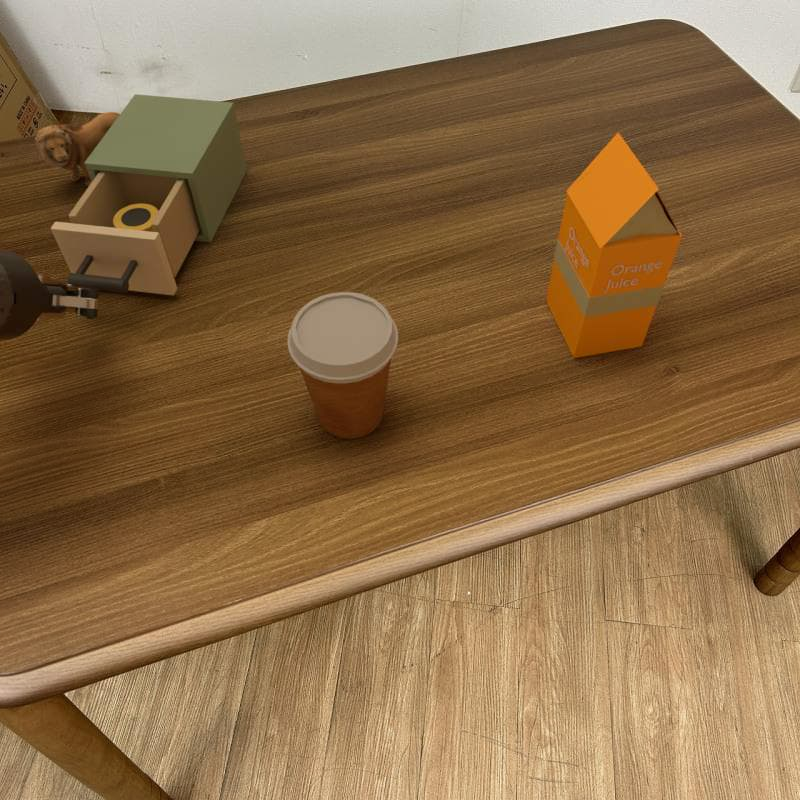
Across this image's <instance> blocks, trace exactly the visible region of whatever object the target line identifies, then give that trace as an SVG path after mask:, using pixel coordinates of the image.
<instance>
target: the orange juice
mask: <svg viewBox="0 0 800 800" xmlns="http://www.w3.org/2000/svg"><path fill="white" fill-rule="evenodd" d="M659 189H660V188H659V187H658V185H657V184H656V182H655V180H653V178H652V177H651V176H650V174H649V173H648V172H647V170H646V169H645V167H644V166H643V164H642V163H641V161H640V160H639V159H638V158H637V156H636V155H635V153H634V152H633V150H632V149H631V148H630V146H629V145H628V144H627V142H626V141H625V139H624V138H623V137H622V135H621V134H620V132H617V133H616V134H615V135H614V136H613V137H612V138H611V140H610V141H608V143H607V144H606V146H604V147H603V149H602V150H600V152H599V153H598V154H597V156H595V157H594V159H593V160H592V161H591V162H590V163H589V165H588V166H587V167H586V168H585V169H584V170H583V171H582V173H580V175H579V176H578V177H577V178H576V180H574V182H572V184H571V185H570V186H569V187H568V188H567V190H566V197H565V202H564V207H563V211H562V217H561V223H560V227H559V231H558V232H559V233H558V237H557V240H556V245H555V249H554V255H553V262H552V268H551V271H550V277H549V281H548V282H549V283H548V287H547V293H546V296H545V302H546V305H547V306H548V308H549V310H550V312H551V314H552V317H553V319H554V320H555V323H556V324H557V327H558V329H559V331H560V333H561V335H562V337H563V339H564V341H565V344H566V346H567V347H568V349H569V352H570V353H571V356H572V358H573V359H578V358H583V357H590V356H595V355H600V354H606V353H607V354H608V353H611V352H617V351H622V350H628V349H635V348H640V347H643V345H644V341H645V340H646V336H647V334H648V330H649V328H650V326H651V322H652V319H653V317H654V314H655V312H656V309H657V306H658V305H659V302H660V299H661V296H662V295H663V291H664V288H665V284H666V281H667V279H668V276H669V273H670V270H671V267H672V264H673V262H674V259H675V256H676V253H677V251H678V248H679V245H680V242H681V240H682V238H683V235H682V233H681V231H680V230H679V229H678V227H677V226H676V224H675V222H674V220H673V218H672V216H671V214H670V212H669V210H668V208H667V207H666V204H665V203H664V201H663V198H662V197H661V194H660V193H659Z"/></svg>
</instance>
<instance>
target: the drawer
mask: <svg viewBox="0 0 800 800" xmlns="http://www.w3.org/2000/svg"><path fill="white" fill-rule="evenodd" d="M140 203H142V204H149V205H152V206H154V207H155V208H156V209H157V210H158V211H159V212H158V213H157V215H156V217H155V218H154V220H153V222H152V224H151V226H152V229H153V232H149V231H140V230H130V229H121V228H115V227H114V224H113V218H114V216H115V214H116V213H117V212H118V211H119V210H121V209H122V208H124V207H126V206H129V205H133V204H140ZM68 218H69V221H70V222H65V221H64V222H63V221H55V222H54V223H53V224H52V226H51V227H50V231H51V233H52V235H53V238H54V239H55V242H56V244H57V246H58V248H59V250H60V252H61V254H62V256H63V258H64V260H65V262H66V265H67V266H68V269H69V271H70V273H69V274H68V275H67V281H66V283H67V284H73V286H76V287H81V286H87V288H95V290H99V291H107V292H114V293H124V294H125V293H127V292H128V291H132V292H141V293H147V294H156V295H165V296H166V295H167V296H175V294H176V292H177V291H178V286H177V283H176V280H175V278H176V277H177V274H178V273H179V271H180V269H181V267H182V265H183V263H184V261H185V260H186V258H187V255H188V253H189V252H190V250H191V248H192V246H193V244H194V242H195V241H194V240H195V239H196V237H197V235H198V233H199V231H200V229H201V226H200V222H199V219H198V215H197V211H196V208H195V204H194V201H193V197H192V193H191V190H190V186H189V182H188V179H183V178H173V177H163V176H152V175H142V174H132V173H122V172H111V171H101V170H100V172H99V173H98V174H97V176H96V177H95V179H94V180H93V181H92V183H91V184H90V186H87V188H86V190H85V191H84V193H83V194H82V195H81V197H80V198H79V200H78V201H77V203H76V204H75V205H74V207H73V208H72V209H71V211H70V212H69V214H68Z"/></svg>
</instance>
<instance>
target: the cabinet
mask: <svg viewBox="0 0 800 800" xmlns="http://www.w3.org/2000/svg"><path fill="white" fill-rule="evenodd" d="M235 109H236V108H235V103H234V102H232V101H218V100H208V99H195V98H184V97H183V98H182V97H174V96H173V97H172V96H160V95H159V96H158V95H148V94H137V93H136V94H134V95H133V96H132V97H131V99H130V100H129V102H128V103H127V104H126V106H125V107H124V108H123V110H122V111H121V112H120V113H119V114H120V115H119V117H118V118H117V119H116V121H115V122H114V123H113V125H112V126H111V127H110V129H109V130H108V131H107V133H106V134H105V136H104V137H103V138H102V140H101V141H100V142H99V144H98V145H97V146H96V148H95V149H94V150H93V152H92V153H91V154H90V156H89V157H88V159H87V160H86V161H85V163H84V164H85V167H86V169H87V171H88V174H89V176H90V179H91V182H92V181H93V180H94V179H95V177H96V176H97V174H98V173H99V172H100V170H101V171H111V172H122V173H132V174H142V175H152V176H163V177H173V178H183V179H188V182H189V186H190V190H191V193H192V197H193V201H194V204H195V208H196V211H197V215H198V219H199V222H200V226H201V229H200V231H199V233H198V235H197V237H196V239H195V240H194V242H202V243H212V241H213V239H214V237H215V235H216V233H217V231H218V229H219V227H220V225H221V223H222V221H223V219H224V218H225V216H226V213H227V211H228V210H229V207H230V205H231V203H233V200H234V197H235V195H236V193H237V192H238V190H239V188H240V185H241V183H242V182H243V180H244V178H245V175H246V173H247V172H248V170H247V165H246V159H245V154H244V150H243V145H242V140H241V134H240V130H239V125H238V120H237V113H236V110H235Z"/></svg>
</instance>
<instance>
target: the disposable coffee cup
mask: <svg viewBox="0 0 800 800" xmlns="http://www.w3.org/2000/svg"><path fill="white" fill-rule="evenodd" d="M286 341H287V343H286V344H287V349H288V352H289V355H290V357H291V358H292V360H293V362H294V363H295V364H296V366H297V367H299V370H300V373H301V375H302V378H303V381H304V384H305V386H306V389H307V392H308V394H309V396H310V399H311V402H312V404H313V406H314V410H315V412H316V413H315V414H316V415H317V419H318V421H319V424H320V425H321V427H322V429H323V430H325V432H327V433H328V434H330V435H332V436H333V437H336V438H340V439H344V440H345V439H346V440H353V439H359V438H362V437H365V436H367V435H369V434H370V433H372V432H374V431H375V430H376V429H377V427H378V426H379V425H380V423H381V422H382V419H383V414H384V408H385V401H386V397H387V396H386V394H387V388H388V383H389V382H388V381H389V377H390V376H389V374H390V368H391V364H392V363H391V362H392V358H393V357H394V354H395V353H396V351H397V347H398V343H399V331H398V327H397V325H396V322H395V321H394V318H392V317H391V315H390V313H389V311H388V310H387V308H386V306H384V305H383V304H381V303H380V302H379V301H377V300H376V299H375V298H373V297H370V296H368V295H366V294H362V293H359V292H351V291H338V292H332V293H331V292H330V293H327V294H324V295H321V296H318V297H316V298H313V299H312V300H310V301H309V302H307V303H306V304H305V305H303V306H302V307H301V308H300V310H298V311H297V313H296V315H295V316H294V318H293V319H292V323H291V326H290V328H289V330H288V335H287V339H286Z"/></svg>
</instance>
